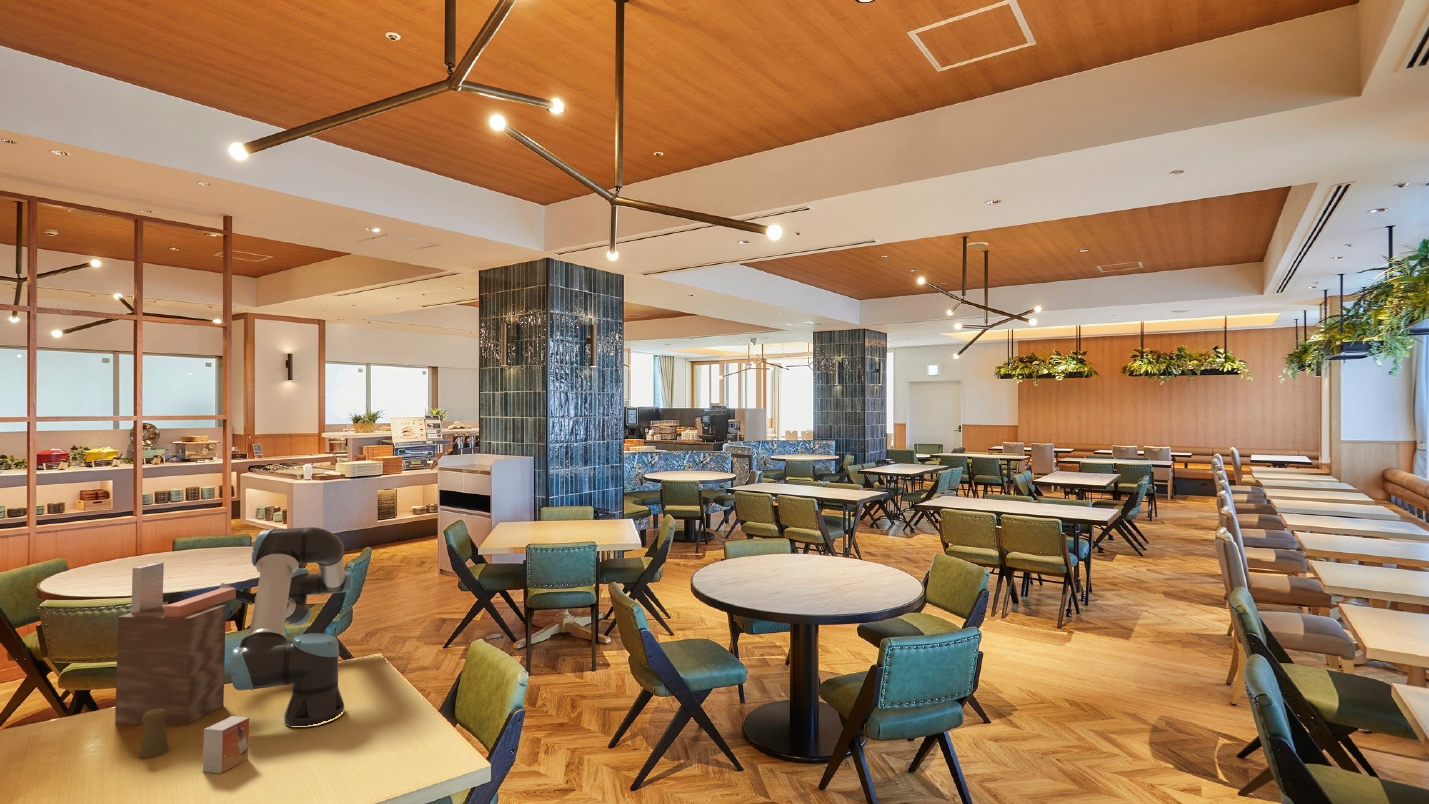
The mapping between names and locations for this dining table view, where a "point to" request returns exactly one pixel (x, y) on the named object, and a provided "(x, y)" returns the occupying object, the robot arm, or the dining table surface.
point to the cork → (154, 734)
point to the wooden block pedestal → (170, 665)
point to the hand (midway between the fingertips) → (241, 587)
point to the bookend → (147, 587)
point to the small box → (225, 744)
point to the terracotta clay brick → (199, 602)
